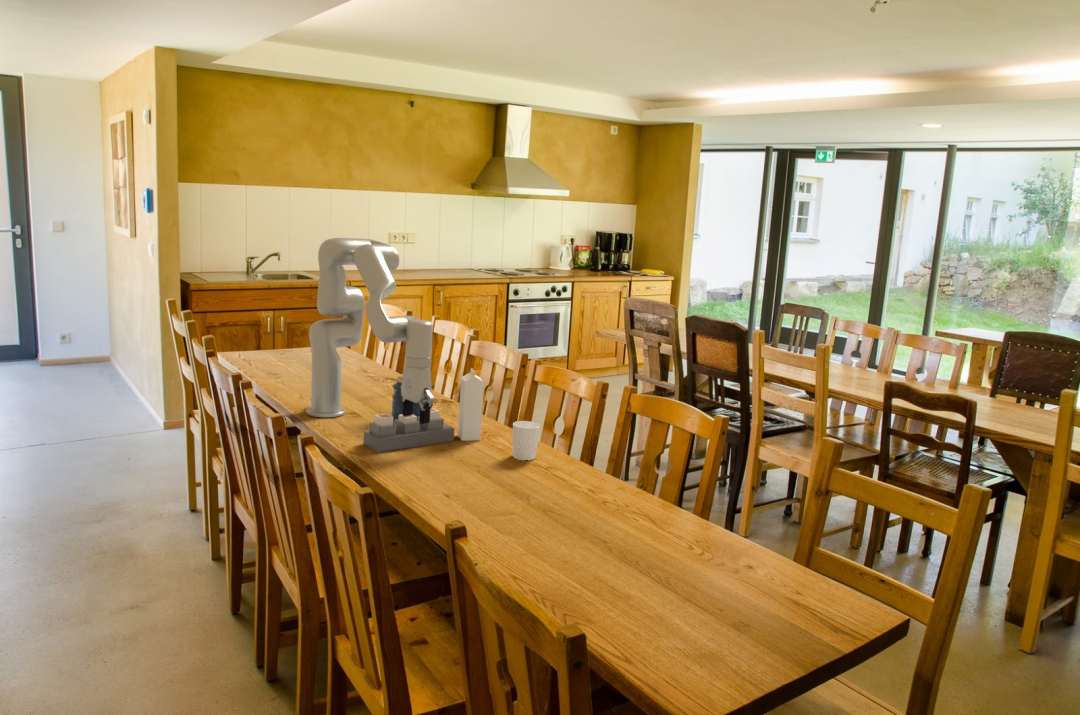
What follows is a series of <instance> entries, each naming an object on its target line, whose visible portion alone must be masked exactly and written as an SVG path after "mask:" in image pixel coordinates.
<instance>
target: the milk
mask: <svg viewBox="0 0 1080 715" xmlns="http://www.w3.org/2000/svg"><path fill="white" fill-rule="evenodd" d="M484 384H485V382H484V380H482V379H481V377H480V376H478V375H476V371H475V370H474V368H472V367H470V372H468V373H467V374H465V375H463V376H462V377H460V393H459V410H458V427H457V436H458V437H459V438H460V441H462V442H463V441H465V442H466V441H469V442H470V441H471V442H472V441H481V436H482V435H481V434H482V433H481V432H482V420H483V418H482V417H483V405H484V404H483V401H484V388H485V387H484Z"/></svg>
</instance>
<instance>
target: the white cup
mask: <svg viewBox="0 0 1080 715" xmlns="http://www.w3.org/2000/svg"><path fill="white" fill-rule="evenodd" d="M540 426H541V425H540V424H539V423H537V422H536V421H535V422H534V421H531V420H530V421H529V420H518V421H514V422H513V423H512V457H513V458H514V459H516V460H519V461H525V460H528V461H533V460H535V459H536V453H537V449H538V444H539V436H540Z"/></svg>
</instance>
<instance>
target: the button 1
mask: <svg viewBox="0 0 1080 715" xmlns="http://www.w3.org/2000/svg"><path fill="white" fill-rule="evenodd" d="M373 420H374V424H375V425H376V426H378V427H387V426H393V424H394V422H393V416H391V414H389V413H381V414H380V413H379V414H374V419H373Z"/></svg>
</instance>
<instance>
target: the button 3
mask: <svg viewBox="0 0 1080 715" xmlns="http://www.w3.org/2000/svg"><path fill="white" fill-rule="evenodd" d="M440 418H441V411H440V410H438V409H436V408H434V407H431V410H430V421H432V420H439V419H440Z"/></svg>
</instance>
